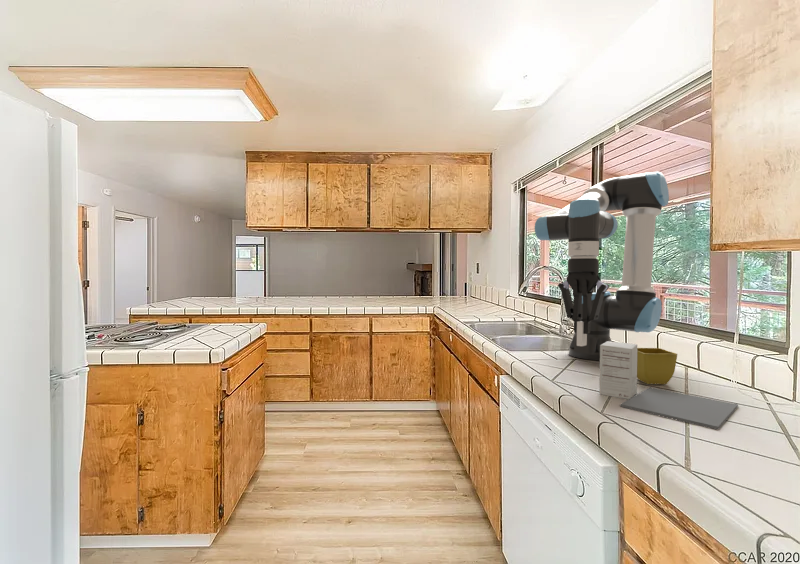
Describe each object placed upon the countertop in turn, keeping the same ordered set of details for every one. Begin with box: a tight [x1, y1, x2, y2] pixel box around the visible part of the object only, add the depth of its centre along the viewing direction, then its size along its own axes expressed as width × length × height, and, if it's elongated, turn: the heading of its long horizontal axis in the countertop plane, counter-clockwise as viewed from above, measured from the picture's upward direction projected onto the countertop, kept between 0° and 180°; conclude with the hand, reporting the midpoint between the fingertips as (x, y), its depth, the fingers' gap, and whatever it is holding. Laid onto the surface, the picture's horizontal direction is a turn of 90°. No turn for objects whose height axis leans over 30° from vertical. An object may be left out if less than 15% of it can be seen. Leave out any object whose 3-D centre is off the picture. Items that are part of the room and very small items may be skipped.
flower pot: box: [637, 347, 678, 386], centre depth 114 cm, size 9×9×9 cm
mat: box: [620, 387, 739, 430], centre depth 94 cm, size 20×18×1 cm
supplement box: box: [598, 340, 638, 400], centre depth 104 cm, size 7×7×13 cm
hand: (581, 345), depth 110 cm, fingers closed
